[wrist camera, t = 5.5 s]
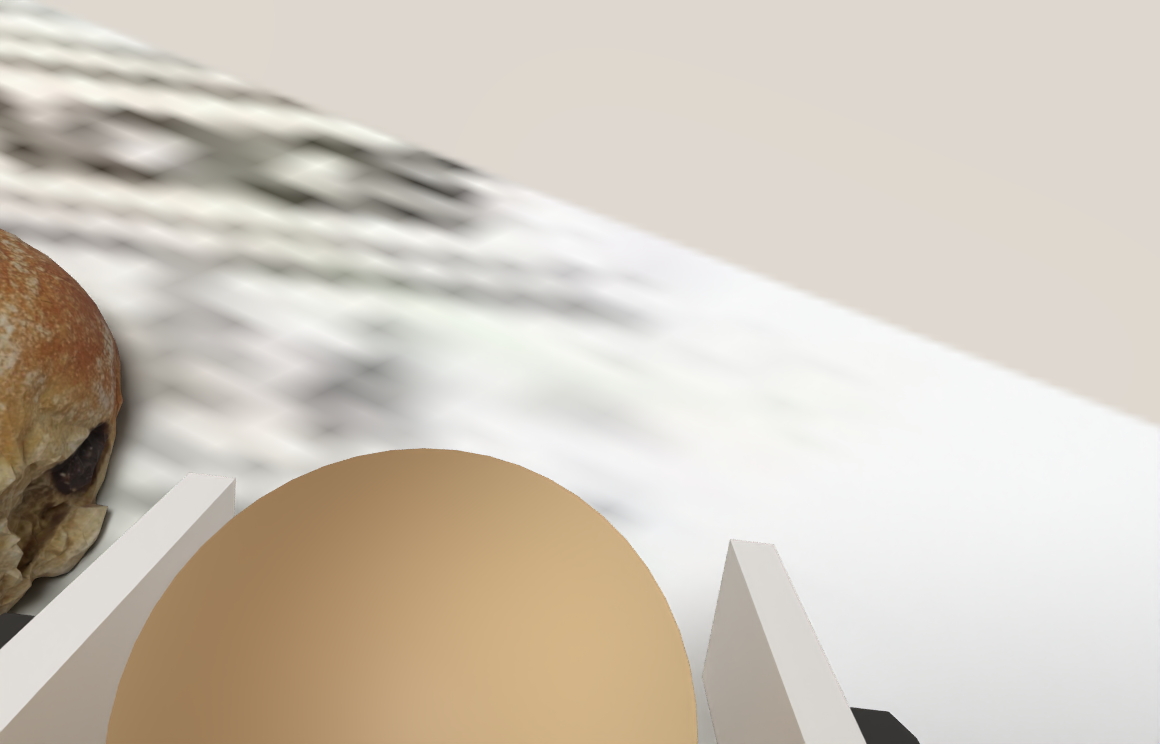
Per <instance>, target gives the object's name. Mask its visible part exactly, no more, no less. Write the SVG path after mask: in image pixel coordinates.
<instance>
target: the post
mask: <svg viewBox="0 0 1160 744" xmlns="http://www.w3.org/2000/svg"><path fill="white" fill-rule="evenodd" d="M106 744H698V736H697V713H696V700H695V694H694V688H693V682H692V676H691V670H690V665H689V661H688V658H687V655H686V651H685V648H684V644H683V641H682V637H681V634H680V631H679V628H678V626H677V624H676V621H675V619H674V617H673V614H672V612H671V610H670V607H669V605H668V603H667V600H666V598H665V596H664V595H663V593H662V591H661V589H660V588H659V586H658V584H657V583H656V581H655V579H654V578H653V576H652V574H651V572H650V571H649V569H648V567H647V566H646V565H645V563H644V562H643V561H642V559H641V558H640V557H639V556H638V554H637V553H636V552H635V550H634V549H633V548H632V546H631V545H630V544H629V542H628V541H627V540H626V539H625V538H624V537H623V536H622V535H621V534H620V533H619V532H618V531H617V530H616V529H615V528H614V527H613V526H612V525H611V524H610V523H609V522H608V521H607V520H606V519H605V518H604V517H603V516H602V515H601V514H600V513H598V512H597V511H596V510H595V509H593V508H592V507H591V506H590V505H588V504H587V503H586V502H585V501H583V500H582V499H581V498H579V497H578V496H577V495H575V494H574V493H572V492H570V491H569V490H567V489H565V488H564V487H562V486H560V485H559V484H557V483H555V482H554V481H552V480H550V479H549V478H546V477H544V476H542V475H540V474H537V473H535V472H533V471H531V470H528V469H526V468H524V467H522V466H519V465H516V464H513V463H510V462H506V461H503V460H500V459H497V458H493V457H490V456H486V455H480V454H475V453H469V452H463V451H458V450H443V449H426V448H422V449H406V450H390V451H384V452H379V453H373V454H368V455H362V456H357V457H353V458H350V459H347V460H343V461H340V462H337V463H333V464H330V465H327V466H324V467H321V468H319V469H317V470H314V471H312V472H310V473H307V474H305V475H303V476H300V477H298V478H296V479H293V480H291V481H289V482H288V483H286V484H284V485H282V486H281V487H279V488H277V489H275V490H274V491H272V492H270V493H268V494H267V495H265V496H263V497H261V498H260V499H258V500H257V501H256V502H254V503H253V504H251V505H250V506H249V507H247V508H246V509H245V510H243V511H242V512H240V513H239V514H238V515H236V516H235V517H234V518H232V519H231V520H230V521H228V522H227V523H226V524H225V525H224V526H223V527H222V528H221V529H220V530H219V531H218V532H216V533H215V534H214V535H213V536H212V537H211V538H210V539H209V540H208V541H207V542H206V543H204V544H203V545H202V546H201V547H200V549H199V550H198V551H197V552H196V553H195V554H194V555H193V557H192V558H191V559H190V560H189V561H188V562H187V563H186V565H185V566H184V567H183V568H182V569H181V570H180V571H179V573H178V574H177V575H176V576H175V578H174V579H173V581H172V582H171V583H170V585H169V586H168V588H167V589H166V591H165V592H164V594H163V595H162V596H161V598H160V599H159V601H158V602H157V604H156V605H155V607H154V608H153V610H152V612H151V614H150V615H149V617H148V619H147V621H146V623H145V625H144V627H143V629H142V630H141V632H140V634H139V636H138V638H137V640H136V642H135V643H134V646H133V648H132V651H131V653H130V656H129V659H128V661H127V664H126V666H125V669H124V671H123V674H122V676H121V679H120V681H119V685H118V688H117V692H116V696H115V700H114V704H113V708H112V711H111V715H110V719H109V723H108V730H107V737H106Z"/></svg>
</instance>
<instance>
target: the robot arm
mask: <svg viewBox="0 0 1160 744" xmlns="http://www.w3.org/2000/svg"><path fill="white" fill-rule="evenodd" d="M235 483H236V478H230V477H222V476H213V475H205V474H197V473H188V474H187V475H186V476H185V477H184V478H183V479H182V480H181V481H180V482H179V483H178V484H177V485H176V486H175V487H173V488H172V489H171V490H170V491H169V492H168V493H167V494H166V495H165V496H164V497H163V498H162V499H161V500H160V501H158V502H157V503H156V504H155V505H154V506H153V507H152V508H151V509H150V510H149V511H148V512H147V513H146V514H145V515H144V516H142V517H141V518H140V519H139V520H138V521H137V522H136V523H135V524H134V525H133V526H132V527H131V528H130V529H129V530H127V531H126V532H125V533H124V534H123V535H122V536H121V537H120V538H119V539H118V540H117V541H116V542H115V543H114V544H112V545H111V546H110V547H109V548H108V549H107V550H106V551H105V552H104V553H103V554H102V555H101V556H100V557H99V558H98V559H96V560H95V561H94V562H93V563H92V564H91V565H90V566H89V567H88V568H87V569H86V570H85V571H84V572H83V573H81V574H80V575H79V576H78V577H77V578H76V579H75V580H74V581H73V582H72V583H71V584H70V585H69V586H68V587H66V588H65V589H64V590H63V591H62V592H61V593H60V594H59V595H58V596H57V597H56V598H55V599H54V600H53V601H52V602H50V603H49V604H48V605H47V606H46V607H45V608H44V609H43V610H42V611H41V612H40V613H39V614H38V615H37V616H29V615H20V614H12V613H3V614H1V615H0V744H106V737H107V730H108V723H109V719H110V715H111V711H112V708H113V704H114V700H115V696H116V692H117V688H118V685H119V681H120V679H121V676H122V674H123V671H124V669H125V666H126V664H127V661H128V659H129V656H130V653H131V651H132V648H133V646H134V643H135V642H136V640H137V638H138V636H139V634H140V632H141V630H142V629H143V627H144V625H145V623H146V621H147V619H148V617H149V615H150V614H151V612H152V610H153V608H154V607H155V605H156V604H157V602H158V601H159V599H160V598H161V596H162V595H163V594H164V592H165V591H166V589H167V588H168V586H169V585H170V583H171V582H172V581H173V579H174V578H175V576H176V575H177V574H178V573H179V571H180V570H181V569H182V568H183V567H184V566H185V565H186V563H187V562H188V561H189V560H190V559H191V558H192V557H193V555H194V554H195V553H196V552H197V551H198V550H199V549H200V547H201V546H202V545H203V544H204V543H206V542H207V541H208V540H209V539H210V538H211V537H212V536H213V535H214V534H215V533H216V532H218V531H219V530H220V529H221V528H222V527H223V526H224V525H225V524H226V523H227V522H228V521H230V520H231V519H232V518H234V513H235ZM702 678H703V683H704V687H705V692H706V696H707V700H708V705H709V709H710V713H711V718H712V722H713V727H714V731H715V735H716V740H717V744H920V743H919V741H918V740H917V738H916V737H915V736H914V735H913V734H912V733H911V732H910V731H908V730H907V729H906V728H905V727H904V726H903V725H902V724H901V723H900V722H899V721H898V720H897V719H896V718H895V717H894V716H893V715H892V714H890V713H889V712H886V711H878V710H869V709H860V708H852V707H849V705H848V703H847V701H846V699H845V696H844V694H843V692H842V690H841V688H840V686H839V683H838V681H837V679H836V677H835V675H834V673H833V671H832V668H831V666H830V664H829V662H828V660H827V658H826V656H825V653H824V651H823V649H822V647H821V645H820V643H819V640H818V638H817V636H816V634H815V632H814V630H813V628H812V625H811V623H810V621H809V619H808V617H807V615H806V613H805V610H804V608H803V606H802V604H801V602H800V600H799V597H798V595H797V593H796V591H795V589H794V587H793V585H792V582H791V580H790V578H789V576H788V574H787V572H786V570H785V567H784V565H783V563H782V561H781V559H780V557H779V554H778V552H777V550H776V548H775V546H774V544H766V543H758V542H750V541H742V540H734V539H730V542H729V547H728V552H727V557H726V562H725V567H724V572H723V577H722V581H721V586H720V591H719V596H718V601H717V606H716V611H715V616H714V621H713V626H712V630H711V635H710V640H709V645H708V650H707V655H706V660H705V665H704V670H703V675H702Z"/></svg>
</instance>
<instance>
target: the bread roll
mask: <svg viewBox="0 0 1160 744" xmlns="http://www.w3.org/2000/svg"><path fill="white" fill-rule="evenodd" d="M122 403H123V398H122V394H121V372H120V358H119V353H118V349H117V345H116V342H115V340H114V338H113V336H112V334H111V332H110V330H109V328H108V326H107V324H106V322H105V320H104V318H103V316H102V315H101V313H100V311H99V309H98V307H97V306H96V304H95V303H94V301H93V300H92V299H91V298H90V296H89V295H88V294H87V293H86V291H85V290H84V289H83V288H82V287H81V286H80V285H79V284H78V283H77V281H76V280H75V279H73V278H72V277H71V276H70V275H69V274H68V273H67V272H66V271H65V270H63V269H62V268H61V267H60V266H59V265H58V264H56V263H55V262H54V261H53V260H52V259H51V258H49V257H48V256H47V255H45V254H44V253H42V252H40V251H38V250H37V249H35V248H33V247H31V246H30V245H28V244H26V243H25V242H23V241H22V240H21V239H19V238H18V237H17V236H16V235H13V234H11V233H8V232H6V231H4V230H2V229H0V615H1V614H3V613H7V612H8V611H9V610H10V609H11V608H12V607H13V606H14V605H15V604H16V603H17V602H18V601H19V600H20V599H21V598H22V597H23V596H24V594H25V593H26V591H27V590H28V589H29V588H30V587H31V586H32V582H33V581H34V579H36V578H39V577H42V576H51V577H55V576H58V575H61V574H65V573H68V572H69V571H70V570H71V569H72V568H73V567H74V566H75V565H76V564H77V563H78V561H79V560H80V559H81V558H82V557H83V555H84V554H85V552H86V551H87V550H88V549H89V548H90V546H91V545H92V544H93V543H94V542H95V541H96V540H97V537H98V535H99V532H100V529H101V526H102V523H103V520H104V517H105V514H106V511H107V508H108V506H103V505H97V504H96V495H97V493H98V491H99V489H100V487H101V485H102V483H103V481H104V478H105V474H106V471H107V467H108V463H109V460H110V456H111V452H112V448H113V444H114V440H115V436H116V417H117V415H118V413H119V410H120V408H121V405H122Z"/></svg>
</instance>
